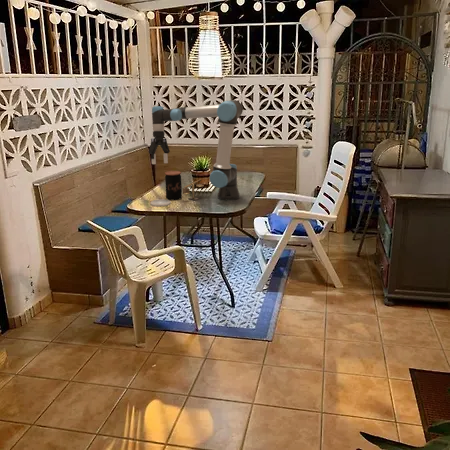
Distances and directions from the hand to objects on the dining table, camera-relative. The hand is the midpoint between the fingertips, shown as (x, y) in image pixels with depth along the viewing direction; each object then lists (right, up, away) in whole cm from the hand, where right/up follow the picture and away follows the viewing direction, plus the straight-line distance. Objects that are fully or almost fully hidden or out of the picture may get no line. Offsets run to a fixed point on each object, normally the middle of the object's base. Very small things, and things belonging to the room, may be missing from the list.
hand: (159, 163), depth 314 cm
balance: (+22, -23, +5) cm, 32 cm away
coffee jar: (+8, -23, +9) cm, 26 cm away
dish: (+1, -27, -4) cm, 27 cm away
